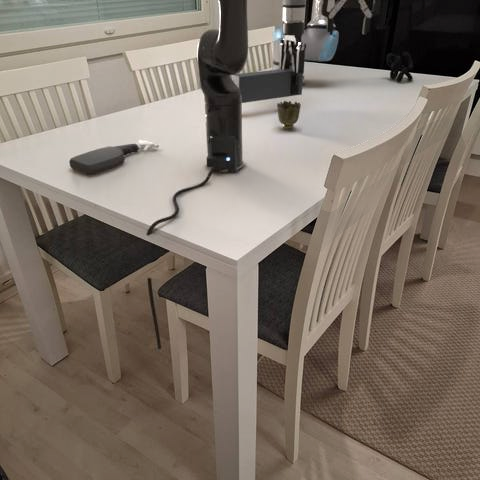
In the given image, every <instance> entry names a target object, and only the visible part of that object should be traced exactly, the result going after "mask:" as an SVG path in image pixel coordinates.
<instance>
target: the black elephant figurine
mask: <svg viewBox="0 0 480 480" xmlns="http://www.w3.org/2000/svg"><path fill="white" fill-rule="evenodd" d="M401 57H402V59H401ZM391 59H392V60H391ZM393 60H394V61H393ZM385 61H386V64H387V67H390V68H391V70H390V72H389V78H390V79H391V80H395V79H396V81H397V82H399V83H400V82H402V81H403V79H404V76H406V78H407V80H408V81H412V80H413V79H414V77H413V75H412V74H411V73H410V72H409V71H410V70H412V69H413V68H414V64H413V61H412V57H411V54H410V53H409V52H408V51H403V53H402V54H401V55H396V54H394V53H392V52H390V53H387V55H386V57H385ZM406 62H407V65H408V66H407V67H405V66H404V65H405V64H406ZM400 70H401V71H400Z"/></svg>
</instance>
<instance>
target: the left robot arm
mask: <svg viewBox="0 0 480 480" xmlns="http://www.w3.org/2000/svg"><path fill="white" fill-rule="evenodd" d="M217 1H218V7H219V29H217V28H216V29H213V28H212V29H208V30H205V32H203V33H202V34H201V36H200V37H199V39H198V42H197V49H196V57H197V59H196V61H197V69H198V78H199V85H200V90H201V92H202V94H203V99H204V100H203V101H204V116H205V117H204V118H205V133H206V134H205V135H206V151H207V152H206V153H207V156H206V168H208V169H209V172H208V174H207V176H206V178H204V180H203V181H202V182H200V183H199V184H197V185H193V186H191V187H185V188H182V189H179V190H178V191H176V192H175V193H174V195H173V196H172V203H173V206H174V209H175V210H174V212H173V213H172V214H171V215H169V216H165V217H162V218H160V219H157V220H155V221H154V222H152V224H151V225H150V226H149V228H148V229H147V231H146V236H151V234H152V232H153V230H154V229H155V228H156V227H157V226H158V225H160V224H162V223H164V222H167V221H171V220H173V219H175V218H176V217H177V216H178V214H179V212H180V207H179V204H178V201H177V198H178V196H180V195H181V194H183V193H185V192H189V191H192V190H195V189H198V188H200V187H204V186H205V185H206V184H207V183H208V182H209V180H210V178H211V176H212V174H213V173H237V171H239V170H240V169H242V168H243V166H244V160H243V114H242V113H243V109H242V108H243V106H242V105H243V103H242V95H241V90H240V88H239V87H238V86H237V85H236V84H235V83H234V82H233V77H231V76H233V75H236V74H240V73H241V72H242V71H243V69H244V68H245V66H246V63H247V59H248V54H249V32H248V31H249V29H248V27H249V25H248V24H249V23H248V0H217ZM372 1H373V3H372V10H370V9H369V6H368V5H367V3H366V1H365V0H336V1H335V4H334V6H333V8H332V9H331V10H330V12H328V11H327V6H328V0H322V6H321V14H322V15H323V16H325V17H327V32H329V35H333V24H334V25H335V18H334V17H335V16H336V14H337V13H338V12H339V11H340V10H341V8H344V9H350V8H351V9H358V8H360V10H361V11H362V13H363V14H364V15H363V16H364V18H363V23H362V30H361V34H362V35H364V36H365V35H367V33H369V32H370V29H371V22H372V21H371V20H372V18H373V17H376V16H379V15H380V12H381V11H380V10H381V0H372ZM147 287H148V297H149V303H150V309H151V313H152V314H151V315H152V319H153V326H154V331H155V337H156V345H157V349H158V350H161V349H162V343H161V336H160V331H159V330H160V329H159V324H158V317H157V312H156V307H155V300H154V293H153V283H152V278H151V277H147Z"/></svg>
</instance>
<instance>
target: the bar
mask: <svg viewBox="0 0 480 480" xmlns="http://www.w3.org/2000/svg"><path fill="white" fill-rule="evenodd" d="M291 74H293V68H287V69H278V70H272V69H269V70H262V71H253V72H251V71H250V72H243V73H238V74H236V75H232V80H233V82H234V83H235V84H236V85H237V86H238V87H239V88H240V90H241V95H242V104H245V103H253V102H260V101H267V100H273V99H281V98H287V97H295V96H301V95H303V85H302V82H303V83H304V80H303V76H304V74H301V75H300V76H299V87H298V94H294V95H291V76H292V75H291Z"/></svg>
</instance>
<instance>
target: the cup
mask: <svg viewBox="0 0 480 480" xmlns="http://www.w3.org/2000/svg"><path fill="white" fill-rule="evenodd" d="M301 106H302V104H301V102H297V101H295V102H294V103H292V101H291V100H289V101H287V100H284V101H283V102H282V101H280V102H278V103H277V104H276V108H277V109H276V110H277V118H278V121H279V123H280V124H282V129H283V130H286V131H291V130H293V129H294V127H295V124H296V123H297V122H298V120H299V118H300V112H301Z"/></svg>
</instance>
